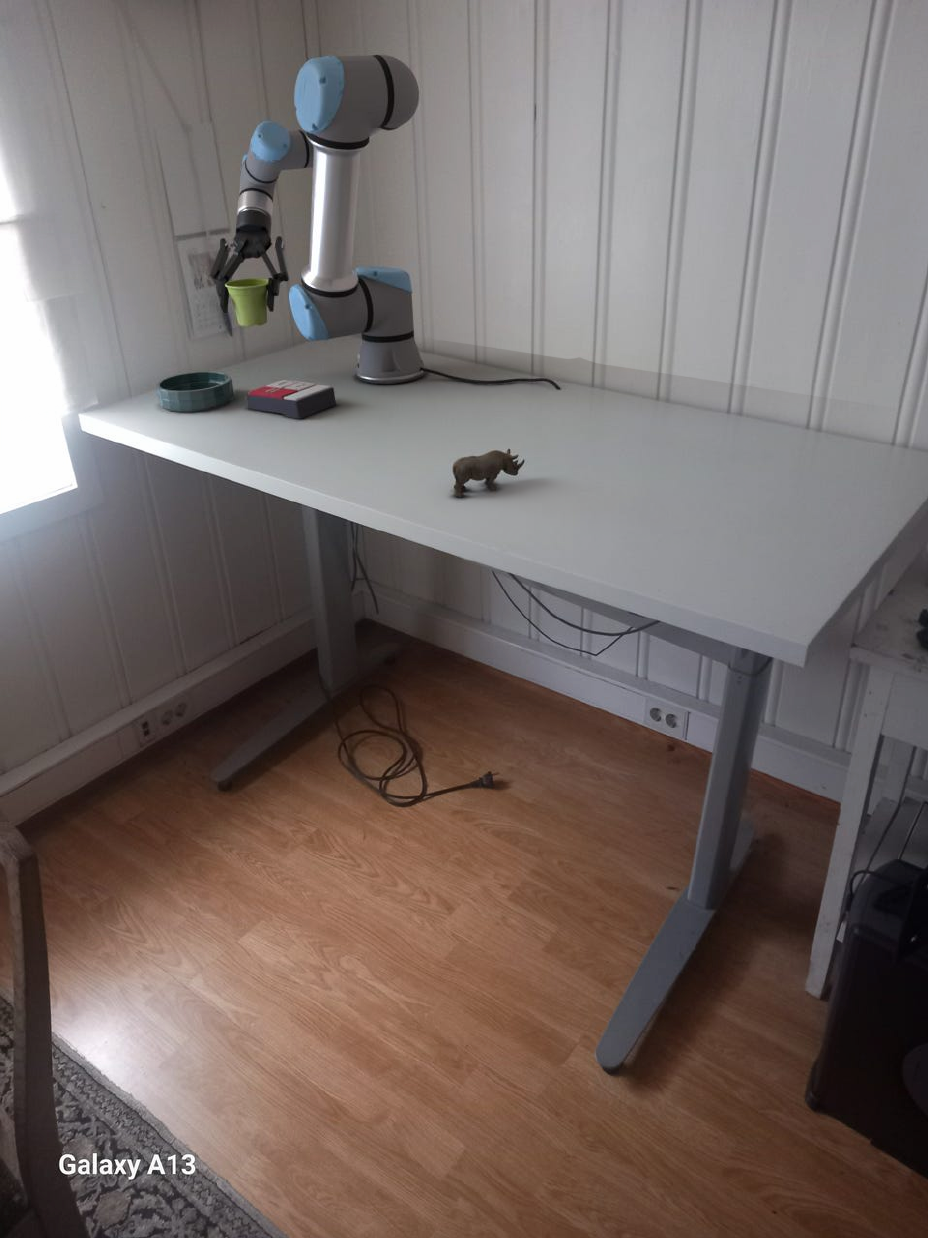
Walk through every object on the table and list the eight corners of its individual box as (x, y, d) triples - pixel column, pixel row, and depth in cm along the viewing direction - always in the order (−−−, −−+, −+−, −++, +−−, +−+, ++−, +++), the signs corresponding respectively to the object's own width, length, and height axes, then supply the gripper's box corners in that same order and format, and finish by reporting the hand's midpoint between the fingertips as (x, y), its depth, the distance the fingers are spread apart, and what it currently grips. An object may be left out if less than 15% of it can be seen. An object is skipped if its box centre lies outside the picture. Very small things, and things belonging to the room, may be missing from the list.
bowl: (249, 398, 206) (246, 377, 204) (191, 417, 196) (187, 395, 193) (203, 387, 214) (200, 367, 212) (145, 405, 204) (141, 384, 202)
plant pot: (282, 319, 213) (277, 278, 208) (261, 329, 205) (255, 286, 201) (245, 318, 216) (239, 277, 211) (223, 327, 208) (216, 285, 204)
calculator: (282, 377, 205) (334, 383, 197) (285, 397, 207) (337, 404, 199) (243, 391, 197) (296, 397, 189) (247, 411, 199) (299, 419, 191)
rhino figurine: (532, 481, 157) (532, 446, 155) (458, 500, 152) (456, 463, 149) (519, 474, 161) (518, 439, 158) (446, 491, 155) (444, 456, 152)
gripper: (307, 228, 215) (301, 317, 209) (210, 232, 216) (202, 320, 210) (299, 205, 207) (293, 296, 201) (199, 209, 209) (190, 299, 203)
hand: (246, 308), depth 206 cm, fingers closed on plant pot, 9 cm apart
